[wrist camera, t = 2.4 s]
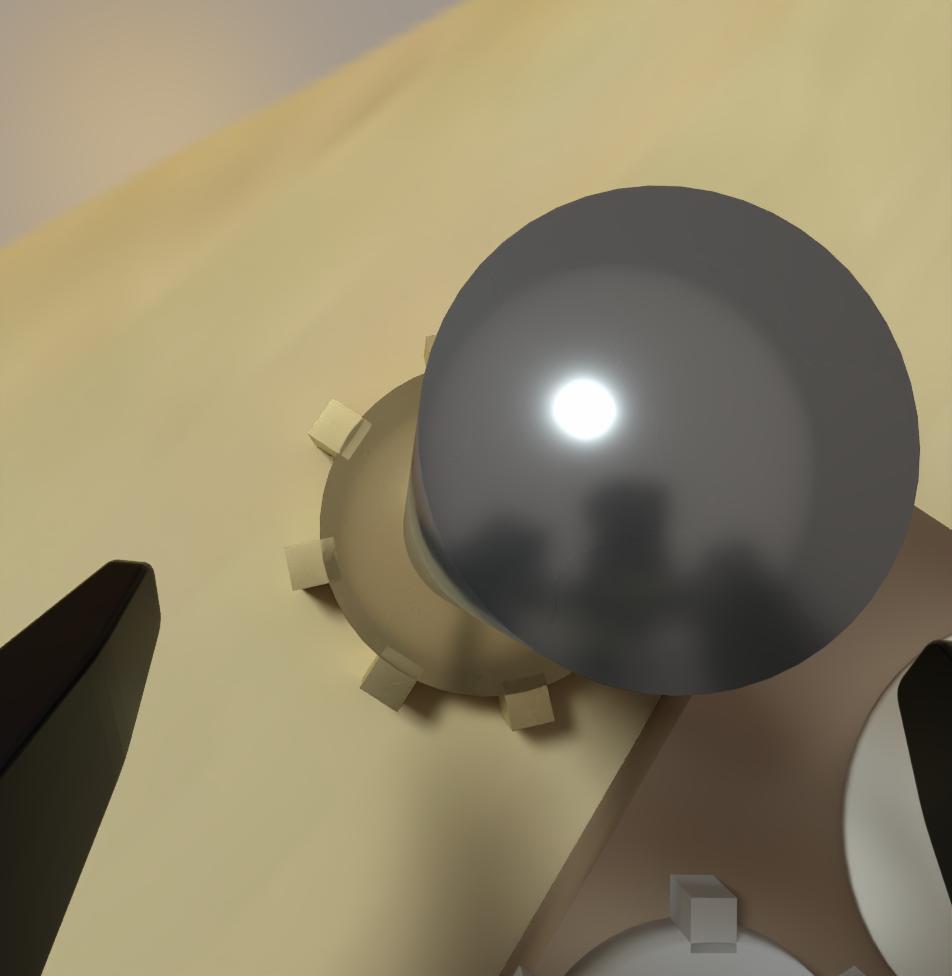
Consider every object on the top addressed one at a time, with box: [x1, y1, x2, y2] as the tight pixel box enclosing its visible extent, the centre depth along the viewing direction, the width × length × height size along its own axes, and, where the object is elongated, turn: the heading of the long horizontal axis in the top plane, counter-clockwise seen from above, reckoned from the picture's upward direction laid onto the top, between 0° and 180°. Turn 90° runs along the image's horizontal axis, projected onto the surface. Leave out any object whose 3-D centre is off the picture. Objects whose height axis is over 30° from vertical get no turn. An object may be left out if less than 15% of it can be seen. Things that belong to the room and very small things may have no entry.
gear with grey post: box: [284, 186, 920, 731], centre depth 12 cm, size 8×8×13 cm
